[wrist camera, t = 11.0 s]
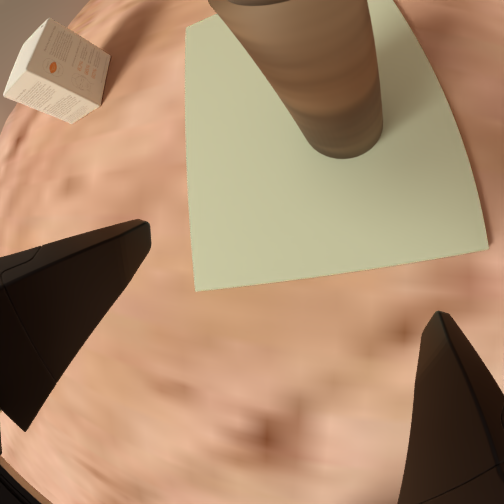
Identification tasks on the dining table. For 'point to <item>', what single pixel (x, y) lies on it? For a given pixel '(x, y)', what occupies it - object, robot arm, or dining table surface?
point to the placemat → (320, 170)
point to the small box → (59, 73)
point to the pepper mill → (316, 66)
